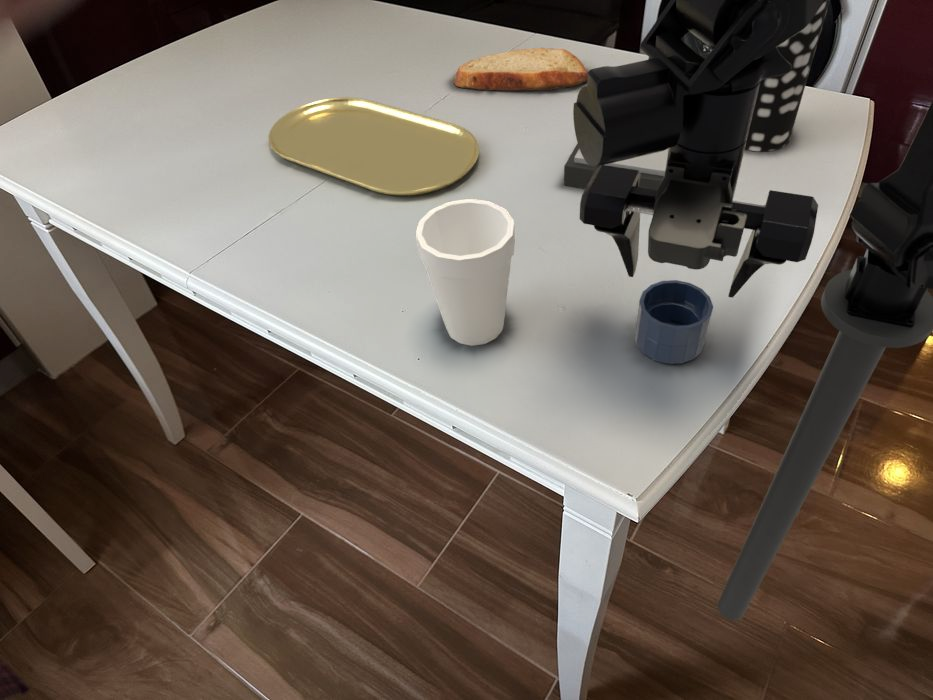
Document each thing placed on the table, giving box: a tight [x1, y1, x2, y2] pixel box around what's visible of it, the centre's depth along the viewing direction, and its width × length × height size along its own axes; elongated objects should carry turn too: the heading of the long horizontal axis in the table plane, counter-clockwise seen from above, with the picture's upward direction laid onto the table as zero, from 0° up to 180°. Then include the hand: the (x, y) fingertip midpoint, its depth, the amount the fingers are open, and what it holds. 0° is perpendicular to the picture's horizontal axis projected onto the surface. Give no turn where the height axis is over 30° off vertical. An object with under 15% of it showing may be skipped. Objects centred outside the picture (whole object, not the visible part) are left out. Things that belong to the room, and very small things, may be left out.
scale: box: [563, 142, 669, 190], centre depth 91 cm, size 14×12×4 cm
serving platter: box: [268, 96, 480, 196], centre depth 101 cm, size 19×35×2 cm, turn 55°
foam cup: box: [415, 198, 516, 347], centre depth 70 cm, size 10×9×13 cm
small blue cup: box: [634, 279, 714, 365], centre depth 68 cm, size 7×7×6 cm
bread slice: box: [453, 47, 588, 92], centre depth 111 cm, size 18×18×4 cm
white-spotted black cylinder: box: [745, 0, 831, 152], centre depth 88 cm, size 8×8×20 cm
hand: (680, 284), depth 65 cm, fingers open, 9 cm apart
